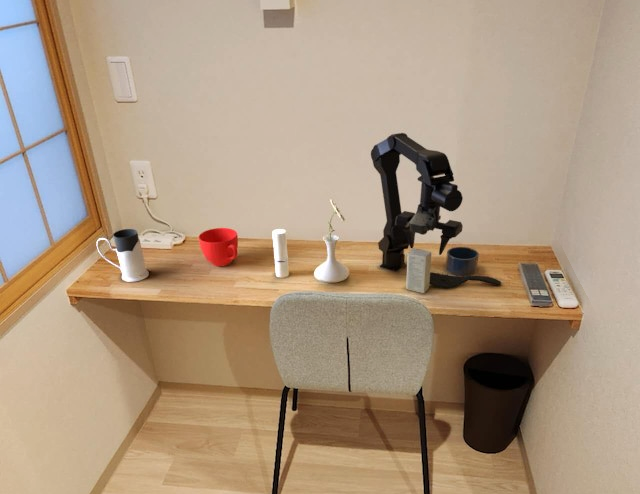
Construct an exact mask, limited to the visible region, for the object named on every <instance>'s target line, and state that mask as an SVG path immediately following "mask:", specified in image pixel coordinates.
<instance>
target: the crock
mask: <svg viewBox="0 0 640 494" xmlns="http://www.w3.org/2000/svg"><path fill="white" fill-rule="evenodd" d="M479 255H480V253H479V251H477V250H476V249H474V248H472V247H466V246H454V247H451V248H449V249H448V250H447V251H446V256H445V257H446V258H445V266H444V267H445V270H446V271H447V273H449V274H452V273H453V274H452V275H456V274H457V276H461V275H462V276H467V275H470V276H471V275H474V274H475V273H476V272H477V270H478V263H479V257H480V256H479ZM459 274H461V275H459Z"/></svg>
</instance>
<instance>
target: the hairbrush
mask: <svg viewBox="0 0 640 494" xmlns="http://www.w3.org/2000/svg"><path fill="white" fill-rule="evenodd" d="M436 272H437V271H436V270H434V272H433V271H430V284H429V286H431V287H434V288H439V289H445V290H448V289H453V288H454V289H455V288H456V287H459V286H461V285H463V284H465V283H466V282H469V281H472V282H481V283H485V284H489V285H492V286H496V287H497V286H502V285H501V284H502V282H501V280H499V279H497V278H494V277H491V276H488V275H471V274H470V275H461V274H459V275H457V274H455V275H454V274H453V273H449V274H448V273H446V274H445V273H444V272H442V273H439V272H437V273H436Z"/></svg>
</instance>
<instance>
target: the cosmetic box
mask: <svg viewBox="0 0 640 494" xmlns="http://www.w3.org/2000/svg"><path fill="white" fill-rule="evenodd" d="M432 253H433V252H432V251H430V250H425V249H420V248H414V247H413V248H411V249H410V250H409V251H408V252H407V257H406V258H407V259H406V281H405V282H406V283H405V285H406V286H405V289H406V290H408V291H413V292H417V293H422V294H425V293H426V292H427V291H428V289H430V272H431V268H432Z"/></svg>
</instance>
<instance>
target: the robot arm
mask: <svg viewBox="0 0 640 494" xmlns="http://www.w3.org/2000/svg"><path fill="white" fill-rule="evenodd" d="M401 155H402V156H403V157H405V158H406V159H408V161H410V162H411V163H413V164H414V165H415V170H416V172H417V173H418V174H420V176H418V177H417V181H418V182H420V183H421V186H420V197H419V204H418V205H417V209H416V212H412V211H408V210H407V211H406V210H404V211H402V207H401V206H402V205H401V198H400V191H399V183H398V177H397V171H398V167H399V165H400V163H401V159H400V156H401ZM370 158H371V160H372V164H373V168H374V169H375V170H376V171H377V173H378V174H379V176H380V183H381V190H382V197H383V204H384V211H385V218H386V223H385V225H384V228H383V229H382V230H383V231H382V232H383V237H382V238H381V239H380V240H379V241H378V242H377V243H378V244H377V246H378V250H380V251H381V252H382V259H381V260H382V261H381V264H380V265H379V268H381V269H384V270H389V271H393V272H398V271H400V270H401V269H402V268H403V267H405V265H406V262H405V260H406V254H405V250H408V249H409V248H410V249H413V248H414V245H415V239H416V234H419V235H426V234H427V233H428V232H429V231H432V232H433V231H434V230H435V229H436V230H441V235H440V244H439V250H438V255H439V256H441V255H442V254H443V252H444V251H445V248H446V247H447V245H448V243H449V242H450V240H451V239H452V238H453V239H454V238H456V237H457V236H459V234H461V233H462V232H463V228H464V227H463V223H462V221H457V220H452V219H449V220H448V221H446V222H441V221H440V220H441V217H442V215H441V214H440V213H441V212H440V211H441V208H442V209H444V210H446V211H447V212H455V211H456V210H458V209H459V208H460V206H461V205H462V203H463V200H464V199H463V198H464V197H463V194H462V192H461V191H460V190H459V187H458V184H455V183H453V182H454V181H455V177H454V172H453V170H452V166H451V164H450V160H449V159H448V156H447V155H446V153H445V152H442V151H439V150H432V149H427V148H426V147H424V146H423V145H422V144H420V143H419V142H416V141H415V140H414V139H412V138H411V137H409V136H408V135H407V133H404V132H399V133H392V134H391V135H389V136H387V138H386V139H384V140H382V141H380V142H378V143H377V144H374V146H373V147H372V149H371V150H370Z"/></svg>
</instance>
